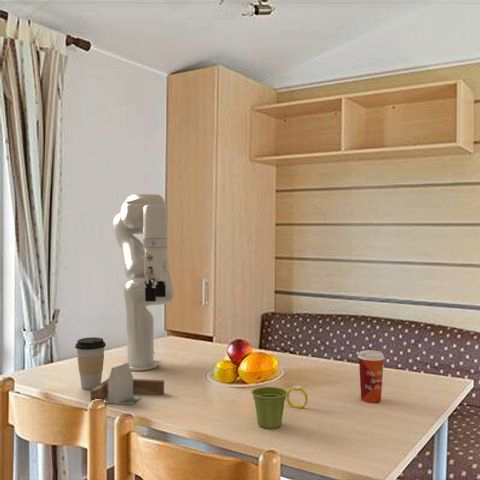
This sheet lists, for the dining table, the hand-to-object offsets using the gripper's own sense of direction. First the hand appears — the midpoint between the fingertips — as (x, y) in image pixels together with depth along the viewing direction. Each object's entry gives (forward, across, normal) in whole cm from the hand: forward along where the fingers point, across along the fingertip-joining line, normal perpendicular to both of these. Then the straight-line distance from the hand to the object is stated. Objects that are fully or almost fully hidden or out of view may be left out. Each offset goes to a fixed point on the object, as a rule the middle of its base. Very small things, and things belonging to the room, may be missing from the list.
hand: (155, 298), depth 176 cm
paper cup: (+28, 0, -66) cm, 72 cm away
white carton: (+28, -13, +7) cm, 32 cm away
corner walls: (+28, -11, +5) cm, 31 cm away
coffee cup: (+28, -2, +21) cm, 35 cm away
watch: (+28, -10, -45) cm, 54 cm away
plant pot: (+28, -25, -39) cm, 54 cm away
